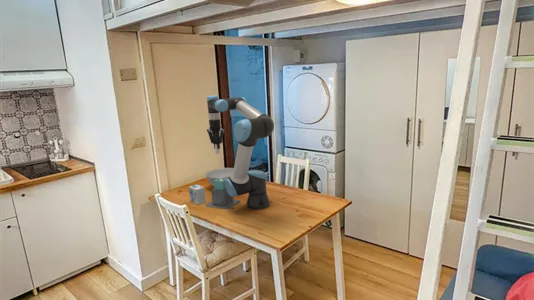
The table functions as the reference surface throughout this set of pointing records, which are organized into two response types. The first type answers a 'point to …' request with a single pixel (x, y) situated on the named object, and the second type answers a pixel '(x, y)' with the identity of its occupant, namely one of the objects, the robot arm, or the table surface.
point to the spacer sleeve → (220, 184)
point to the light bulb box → (197, 194)
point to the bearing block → (222, 199)
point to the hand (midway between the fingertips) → (217, 153)
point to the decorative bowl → (218, 174)
